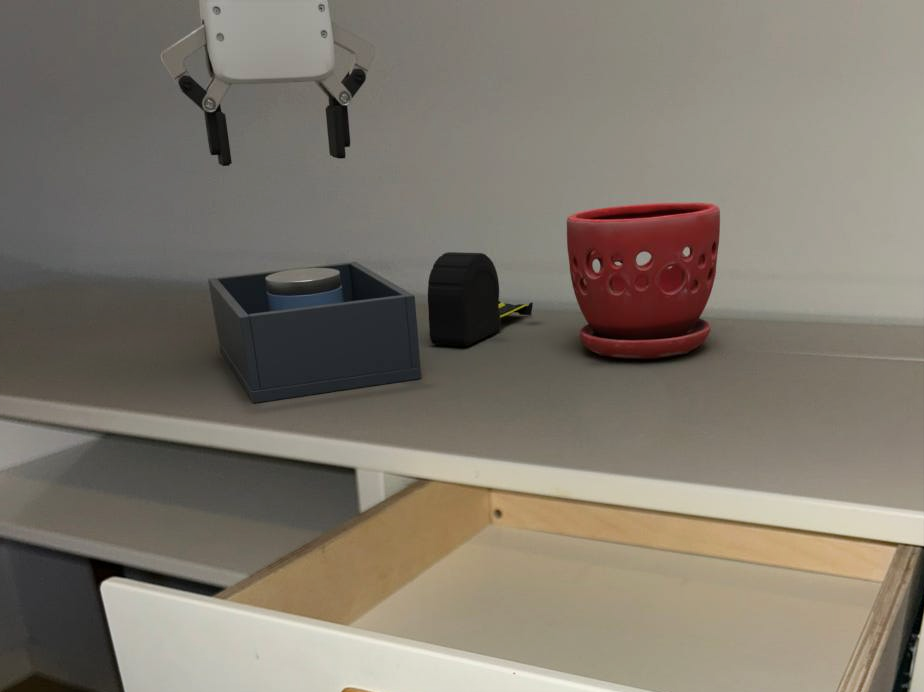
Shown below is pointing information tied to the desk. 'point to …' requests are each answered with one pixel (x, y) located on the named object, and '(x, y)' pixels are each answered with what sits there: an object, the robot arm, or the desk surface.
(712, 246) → the flower pot
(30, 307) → the desk surface
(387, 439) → the desk surface
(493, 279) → the tape measure
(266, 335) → the dark blue open box
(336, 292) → the can
